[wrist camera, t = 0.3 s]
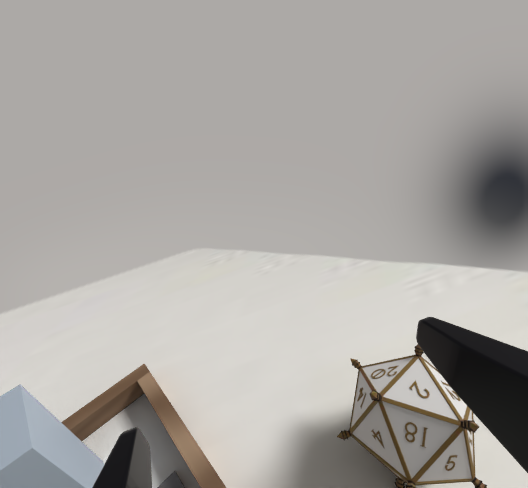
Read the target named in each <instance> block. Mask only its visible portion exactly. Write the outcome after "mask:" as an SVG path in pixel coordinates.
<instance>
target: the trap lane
mask: <svg viewBox="0 0 528 488" xmlns="http://www.w3.org/2000/svg"><path fill="white" fill-rule="evenodd" d="M144 393H145V395H146V396H147V398H148V400H149V401H150V403H151V405H152V407H153V408H154V410H155V412H156V413H157V415H158V417H159V418H160V420H161V422H162V423H163V425H164V427H165V428H166V430H167V432H168V433H169V435H170V437H171V438H172V440H173V442H174V443H175V445H176V447H177V448H178V450H179V452H180V454H181V455H182V457H183V459H184V460H185V462H186V464H187V465H188V467H189V469H190V470H191V472H192V474H193V475H194V477H195V479H196V480H197V482H198V484H199V485H200V487H201V488H226V487H225V485H224V484H223V482H222V480H221V479H220V477H219V476H218V474H217V473H216V471H215V470H214V468H213V467H212V465H211V464H210V462H209V461H208V459H207V458H206V456H205V455H204V453H203V452H202V450H201V449H200V447H199V446H198V444H197V443H196V441H195V440H194V438H193V437H192V435H191V434H190V432H189V431H188V429H187V427H186V426H185V424H184V423H183V421H182V420H181V418H180V417H179V415H178V414H177V412H176V411H175V409H174V408H173V406H172V405H171V403H170V402H169V400H168V399H167V397H166V396H165V394H164V393H163V391H162V390H161V388H160V387H159V385H158V384H157V382H156V381H155V379H154V377H153V376H152V374H151V373H150V371H149V370H148V368H147V367H146V365H145V364H143V365H142V366H140V367H139V368H138V369H136V370H135V371H133V372H132V373H130V374H129V375H128V376H126V377H125V378H123V379H122V380H121V381H119V382H118V383H116V384H115V385H114V386H112V387H111V388H109V389H108V390H107V391H105V392H104V393H102V394H101V395H99V396H98V397H97V398H95V399H94V400H92V401H91V402H90V403H88V404H87V405H85V406H84V407H83V408H81V409H80V410H78V411H77V412H76V413H74V414H73V415H71V416H70V417H68V418H67V419H66V420H64V421H63V422H61V423H62V424H63V425H65V426H66V427H67V428H68V429H69V430H70V431H71V432H72V433H73V434H74V435H75V436H76V437H77V438H78V439H80V440H81V441H83V440H84V439H85V438H86V437H88V436H89V435H90V434H92V433H93V432H94V431H96V430H97V429H98V428H100V427H101V426H102V425H103V424H105V423H106V422H107V421H109V420H110V419H111V418H113V417H114V416H115V415H116V414H118V413H119V412H120V411H122V410H123V409H124V408H126V407H127V406H128V405H129V404H131V403H132V402H133V401H135V400H136V399H137V398H139V397H140V396H141V395H143V394H144ZM158 488H184V486H183V484H182V483H181V481H180V479H179V477H178V475H177V473H176V472H175V471H174V472H173V473H172V474H171V475H170V476H169V477H168V478H167V479H166V480H165V481H164V482H163V483H162V484H161V485H160V486H159V487H158Z"/></svg>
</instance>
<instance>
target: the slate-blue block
mask: <svg viewBox="0 0 528 488" xmlns="http://www.w3.org/2000/svg"><path fill="white" fill-rule="evenodd" d="M103 466H104V463H103V461H102V460H101V459H100V458H99V457H98V456H97V455H96V454H95V453H93V452H92V451H91V450H90V449H89V448H88V447H87V446H86V445H85V444H84V443H83V442H82V441H81V440H80V439H78V438H77V437H76V436H75V435H74V434H73V433H72V432H71V431H70V430H69V429H68V428H67V427H66V426H65V425H63V424H62V423H61V422H60V421H59V420H58V419H57V418H56V417H55V416H54V415H53V414H52V413H51V412H49V411H48V410H47V409H46V408H45V407H44V406H43V405H42V404H41V403H40V402H39V401H38V400H37V399H36V398H34V397H33V396H32V395H31V394H30V393H29V392H28V391H27V390H26V389H25V388H24V387H23V386H22V385H21V384H20V385H18V386H17V387H15V388H13V389H12V390H10V391H8V392H7V393H5V394H3V395H2V396H0V488H92V487H93V485H94V483H95V481H96V480H97V478H98V476H99V474H100V472H101V470H102V468H103Z"/></svg>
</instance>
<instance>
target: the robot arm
mask: <svg viewBox="0 0 528 488" xmlns="http://www.w3.org/2000/svg"><path fill="white" fill-rule="evenodd" d="M416 339H417V343H418V345H419V346H420V348H421V349H422V350H423V351H424V353H425V354H426V355H427V357H428V358H429V359H430V361H431V362H432V363H433V365H434V366H435V367H436V369H437V370H438V371H439V373H440V374H441V375H442V377H443V378H444V379H445V381H446V382H447V383H448V384H449V386H450V387H451V388H452V389H453V390H454V392H455V393H456V394H457V395H458V396H459V397H460V398H461V399H462V401H463V402H464V403H465V404H466V405H467V406H468V407H469V408H470V409H471V411H472V412H473V413H474V414H475V415H476V416H477V417H478V418H479V419H480V421H481V422H482V423H483V424H484V425H485V426H486V427H487V428H488V429H489V431H490V432H491V433H492V434H493V435H494V436H495V437H496V438H497V439H498V441H499V442H500V443H501V444H502V445H503V446H504V447H505V448H506V449H507V451H508V452H509V453H510V454H511V455H512V456H513V457H514V458H515V459H516V461H517V462H518V463H519V464H520V465H521V466H522V467H523V468H524V469H525V471H526V472H527V473H528V351H525V350H522V349H520V348H517V347H514V346H511V345H508V344H506V343H503V342H500V341H497V340H495V339H492V338H489V337H486V336H483V335H481V334H478V333H475V332H472V331H470V330H467V329H464V328H461V327H459V326H456V325H453V324H450V323H447V322H445V321H442V320H439V319H436V318H433V317H427V318H425V319H422V320H420V321H419V322H418V328H417V336H416ZM92 488H152V478H151V458H150V448H149V444H148V442H147V440H146V439H145V437H144V435H143V434H142V432H141V430H140V429H139V428H137V427H136V428H133V429H130V430H127V431H125V432H123V433H122V434H121V435H120V436H119V438H118V440H117V442H116V444H115V446H114V448H113V449H112V451H111V453H110V455H109V457H108V459H107V461H106V463H105V465H104V466H103V468H102V470H101V472H100V474H99V476H98V478H97V480H96V481H95V483H94V485H93V487H92Z"/></svg>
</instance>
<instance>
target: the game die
mask: <svg viewBox="0 0 528 488" xmlns="http://www.w3.org/2000/svg"><path fill="white" fill-rule="evenodd" d="M414 351H415V353H416V355H412V356H407V357H403V358H398V359H394V360H389V361H384V362H380V363H375V364H370V365H366V366H361V365H360V362H358V361H357V360H355V359H351V358H350V359H351V362H352V365H353V366H355V368H357V369H358V370H359V371H358V378H357V384H356V391H355V397H354V404H353V410H352V417H351V423H350V429H349V431H345V430H344V431H341V433H340V434H339V435H338V436H337V437H339V438H341V439H344V440H345V439H348V438H349V437H350V436H352V437H353V438H354V439H355V440H356V441H357V442H358V443H360V444H361V445H362V446H363V447H364V448H365V449H366V450H368V451H369V452H370V453H371V454H372V455H373V456H374V457H376V458H377V459H378V460H379V461H380V462H381V463H382V464H383V465H385V466H386V467H387V468H388V469H389V470H390V471H391V472H393V473H394V474H395V475H396V476H397V477H398V478H397V479H396V482H395V484H396V486H397V488H404V483H405V482H407V483H408V484H407V485H406V488H416V487H415V485H427V484H442V483H456V482H472V483H473V484H474V485H475V488H487V487H486V486H487V485H485V484H483V483H482V481H480V480H478V479H477V478H476V477H475V455H474V433H475V431H476V430H477V429H478V428H479V426H478V425H477V424H476V423H475V422H474V421H473V412H472V411H471V409H470V408H469V407H468V406H467V405H466V404H465V403H464V402H463V401H462V399H461V398H460V397H459V396H458V395H457V394H456V393H455V392H454V390H453V389H452V388H451V387H450V386H449V384H448V383H447V382H446V381H445V379H444V378H443V377H442V375H441V374H440V373H439V371H438V370H437V369H435V368H434V367H433V366H432V365H431V364H429V363H428V362H427V361H426V360H425V359H423V358H422V357H421V355H422V353H424V352H423V350H422V349H421V348H420V346H419V345H417V346H415V350H414ZM404 481H405V482H404Z"/></svg>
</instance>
